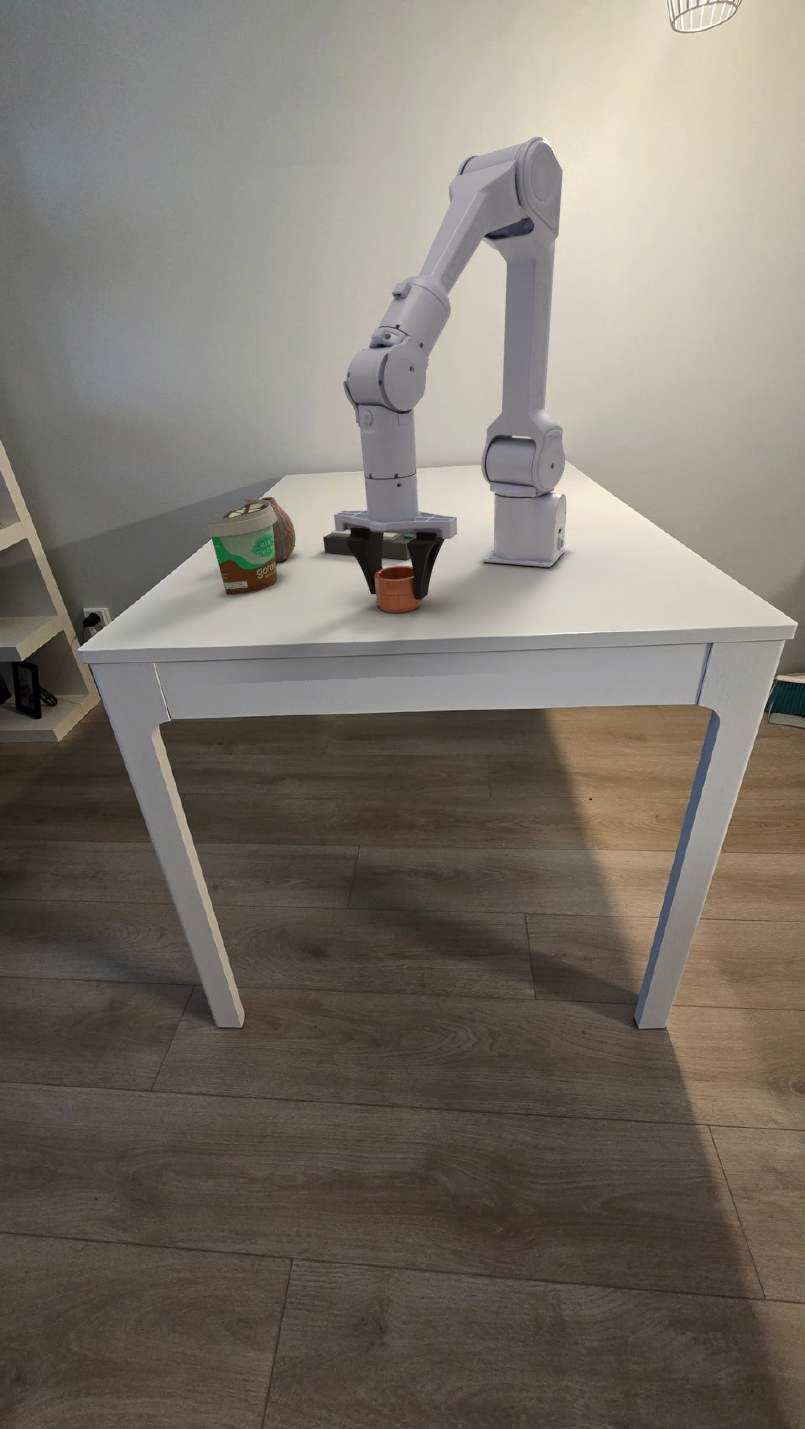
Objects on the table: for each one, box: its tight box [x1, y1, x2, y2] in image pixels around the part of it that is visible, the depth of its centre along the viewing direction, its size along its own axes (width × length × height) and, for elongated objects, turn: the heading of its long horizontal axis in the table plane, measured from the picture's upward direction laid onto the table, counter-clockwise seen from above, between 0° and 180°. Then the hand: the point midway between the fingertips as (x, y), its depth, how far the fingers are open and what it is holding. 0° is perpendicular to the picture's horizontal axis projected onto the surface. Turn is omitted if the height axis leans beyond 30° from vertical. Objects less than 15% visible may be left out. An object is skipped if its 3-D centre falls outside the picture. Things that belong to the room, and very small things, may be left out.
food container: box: [206, 497, 278, 595], centre depth 85 cm, size 12×6×10 cm, turn 168°
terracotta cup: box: [374, 565, 423, 614], centre depth 76 cm, size 5×6×4 cm
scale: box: [322, 529, 416, 561], centre depth 99 cm, size 14×11×3 cm
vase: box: [259, 496, 296, 563], centre depth 95 cm, size 7×7×9 cm
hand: (398, 594), depth 76 cm, fingers closed on terracotta cup, 5 cm apart
